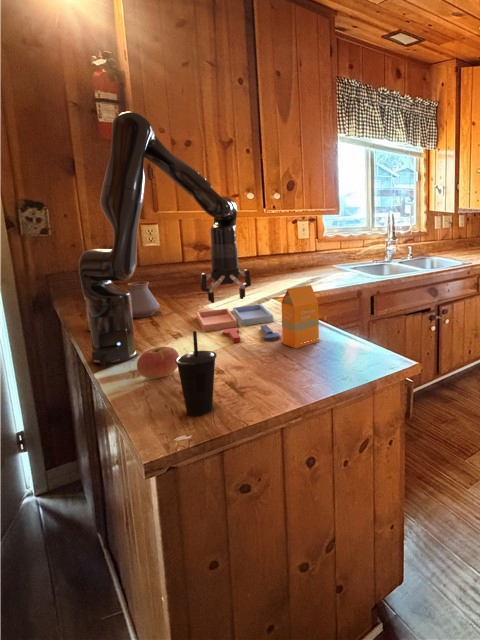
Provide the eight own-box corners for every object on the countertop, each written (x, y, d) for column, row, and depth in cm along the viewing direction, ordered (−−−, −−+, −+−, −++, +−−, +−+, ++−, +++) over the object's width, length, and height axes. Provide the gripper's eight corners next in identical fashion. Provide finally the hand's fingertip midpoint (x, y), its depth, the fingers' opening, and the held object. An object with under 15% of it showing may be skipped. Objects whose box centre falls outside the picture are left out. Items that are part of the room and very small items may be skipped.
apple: (182, 376, 114) (181, 349, 112) (140, 386, 107) (137, 357, 106) (176, 366, 119) (174, 340, 118) (135, 375, 113) (133, 348, 112)
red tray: (237, 326, 154) (236, 320, 154) (203, 331, 147) (203, 325, 147) (227, 314, 168) (227, 308, 168) (196, 318, 161) (196, 312, 161)
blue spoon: (256, 331, 151) (255, 326, 151) (271, 328, 154) (271, 324, 154) (265, 341, 141) (265, 336, 141) (281, 338, 145) (281, 334, 144)
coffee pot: (159, 308, 170) (156, 273, 167) (161, 315, 161) (158, 279, 159) (85, 317, 155) (81, 279, 153) (83, 325, 147) (79, 285, 145)
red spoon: (245, 341, 141) (245, 336, 141) (228, 344, 138) (228, 339, 137) (237, 330, 151) (237, 325, 150) (221, 332, 147) (221, 328, 147)
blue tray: (272, 321, 162) (272, 315, 162) (242, 325, 155) (242, 319, 155) (261, 309, 176) (260, 304, 176) (233, 313, 169) (232, 307, 169)
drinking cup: (226, 403, 101) (222, 326, 98) (204, 420, 94) (199, 337, 91) (195, 402, 101) (190, 325, 98) (170, 419, 93) (164, 336, 90)
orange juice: (319, 341, 145) (318, 286, 142) (295, 348, 137) (293, 290, 134) (306, 336, 148) (304, 283, 146) (282, 343, 141) (280, 287, 138)
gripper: (200, 258, 132) (204, 306, 135) (251, 255, 142) (253, 299, 145) (196, 255, 137) (200, 301, 140) (245, 252, 147) (248, 295, 150)
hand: (227, 300), depth 143 cm, fingers open, 8 cm apart
